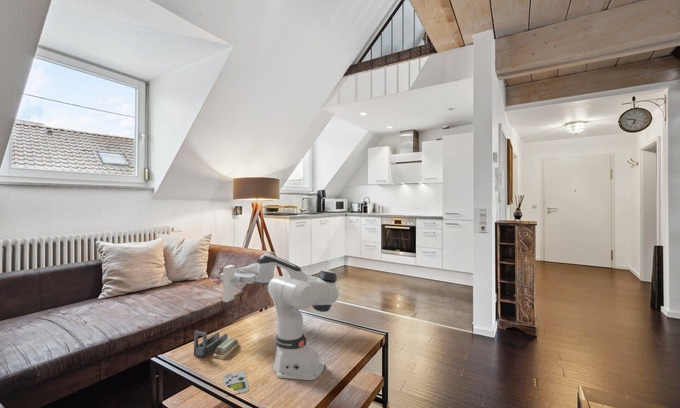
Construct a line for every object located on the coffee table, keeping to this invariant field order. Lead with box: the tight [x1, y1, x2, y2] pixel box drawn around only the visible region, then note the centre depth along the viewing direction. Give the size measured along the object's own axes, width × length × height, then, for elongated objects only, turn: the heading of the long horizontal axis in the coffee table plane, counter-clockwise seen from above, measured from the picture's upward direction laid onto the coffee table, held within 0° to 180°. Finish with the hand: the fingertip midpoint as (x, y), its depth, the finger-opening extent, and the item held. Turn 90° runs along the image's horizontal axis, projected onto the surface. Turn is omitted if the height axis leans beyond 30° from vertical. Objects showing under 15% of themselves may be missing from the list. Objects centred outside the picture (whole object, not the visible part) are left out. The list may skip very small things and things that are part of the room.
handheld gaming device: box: [222, 370, 250, 394], centre depth 121 cm, size 9×1×15 cm
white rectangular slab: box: [222, 264, 236, 303], centre depth 159 cm, size 2×6×18 cm, turn 163°
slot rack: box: [193, 330, 228, 358], centre depth 148 cm, size 6×16×11 cm, turn 163°
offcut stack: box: [212, 337, 240, 360], centre depth 146 cm, size 5×14×4 cm, turn 168°
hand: (229, 281), depth 159 cm, fingers closed on white rectangular slab, 2 cm apart
